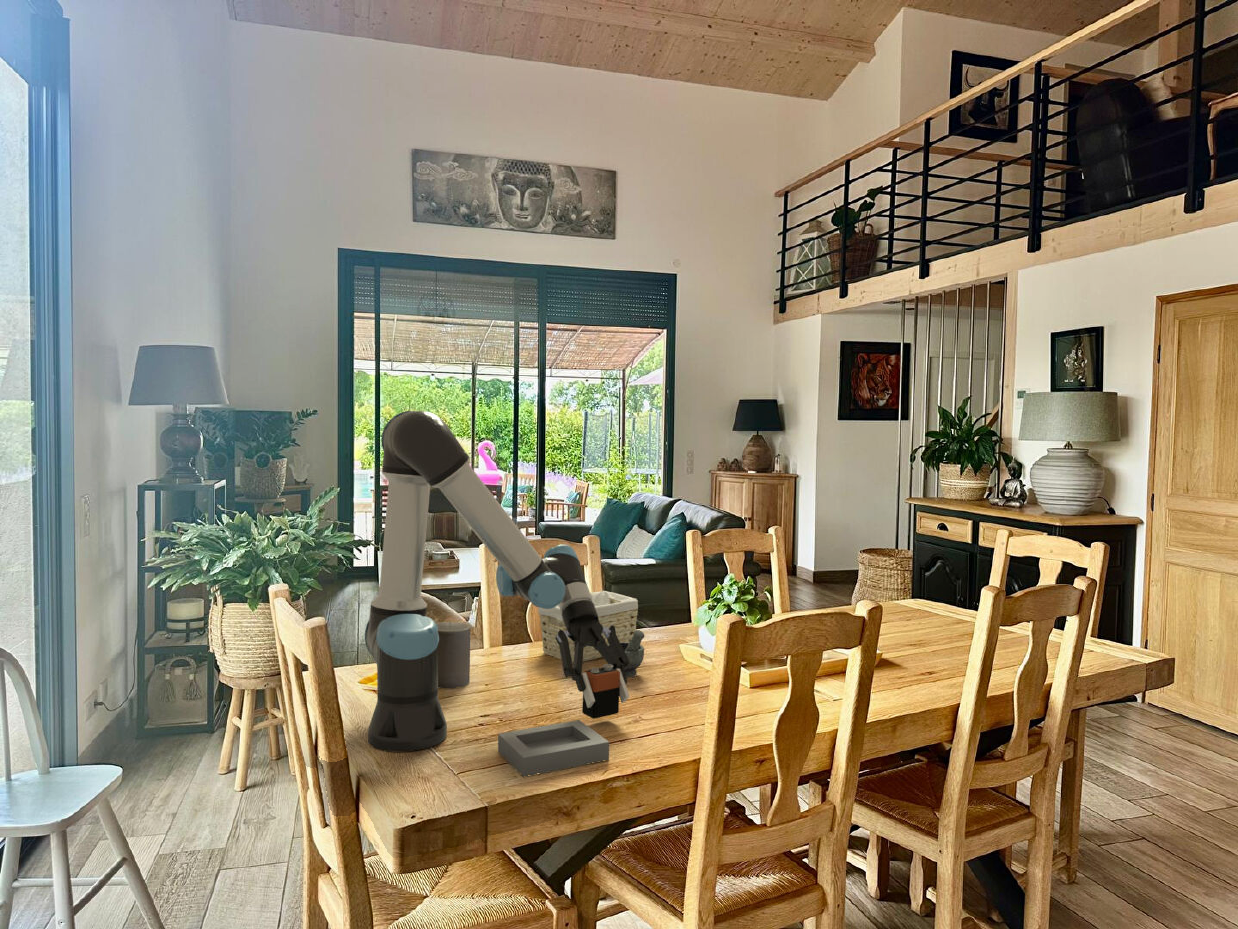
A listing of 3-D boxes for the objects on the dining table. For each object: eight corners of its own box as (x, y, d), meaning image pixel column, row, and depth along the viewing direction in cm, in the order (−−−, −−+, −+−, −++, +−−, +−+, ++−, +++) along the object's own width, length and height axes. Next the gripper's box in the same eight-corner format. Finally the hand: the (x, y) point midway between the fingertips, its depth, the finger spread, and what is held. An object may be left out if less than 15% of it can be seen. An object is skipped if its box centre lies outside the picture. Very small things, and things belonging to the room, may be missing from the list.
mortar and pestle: (597, 673, 213) (597, 626, 212) (624, 666, 219) (624, 620, 219) (628, 684, 205) (629, 634, 204) (655, 676, 211) (656, 628, 211)
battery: (619, 713, 179) (621, 666, 178) (593, 719, 175) (594, 671, 174) (607, 708, 182) (608, 661, 182) (581, 713, 178) (582, 666, 178)
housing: (523, 777, 151) (523, 757, 150) (498, 751, 162) (498, 733, 162) (608, 760, 159) (609, 742, 158) (578, 737, 170) (579, 719, 170)
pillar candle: (421, 686, 201) (421, 623, 200) (441, 674, 210) (442, 614, 209) (458, 691, 198) (459, 627, 197) (477, 679, 208) (478, 618, 207)
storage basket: (569, 667, 219) (569, 610, 218) (534, 653, 231) (535, 599, 231) (640, 652, 234) (641, 599, 233) (604, 640, 246) (605, 589, 246)
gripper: (611, 613, 196) (644, 704, 182) (530, 620, 186) (558, 717, 173) (623, 595, 191) (657, 687, 178) (540, 601, 182) (570, 699, 168)
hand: (608, 701), depth 175 cm, fingers closed on battery, 7 cm apart
